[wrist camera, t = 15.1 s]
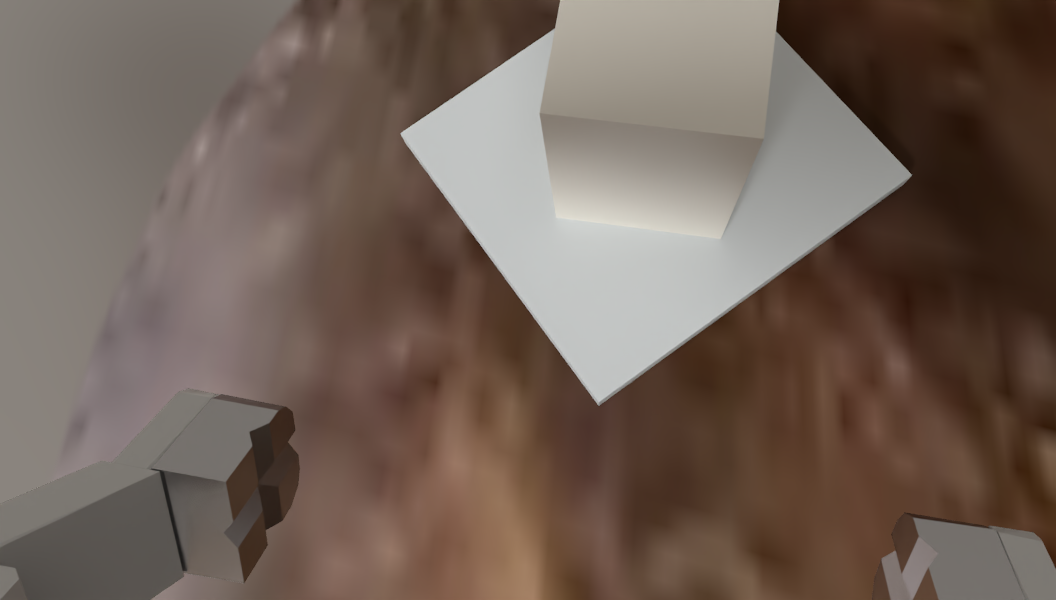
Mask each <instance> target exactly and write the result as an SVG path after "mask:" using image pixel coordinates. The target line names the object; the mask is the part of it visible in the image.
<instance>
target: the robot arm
mask: <svg viewBox="0 0 1056 600" xmlns="http://www.w3.org/2000/svg"><path fill="white" fill-rule="evenodd" d="M294 432H295V424H294V418H293V412H292V411H291V410H290V409H288V408H287V407H284V406H279V405H274V404H269V403H264V402H259V401H254V400H249V399H244V398H239V397H233V396H228V395H223V394H221V395H219V394H214V393H209V392H204V391H199V390H194V389H189V388H188V389H185V390H183V391H180V392H178V393H177V394H176V395H175V396H174V397H173V398H172V399H171V400H170V401H169V402H168V403H167V404H166V405H165V406H164V408H163V409H162V410H161V411H160V412H159V413H158V414H157V415H156V416H155V417H154V418H153V419H152V420H151V421H150V422H149V423H148V424H147V426H146V427H145V428H144V429H143V430H142V431H141V432H140V433H139V434H138V435H137V436H136V437H135V438H134V439H133V440H132V441H131V443H130V444H129V445H128V446H127V447H126V448H125V449H124V450H123V451H122V452H121V453H120V454H119V455H118V456H117V457H116V458H115V459H114V461H113V462H106V461H100V462H97V463H95V464H93V465H90V466H88V467H85V468H83V469H81V470H78V471H76V472H74V473H71V474H69V475H67V476H64V477H62V478H59V479H57V480H55V481H52V482H50V483H48V484H45V485H43V486H41V487H38V488H36V489H34V490H31V491H29V492H26V493H24V494H22V495H19V496H17V497H15V498H13V499H10V500H8V501H5V502H3V503H1V504H0V600H150V599H152V598H153V597H155V596H156V595H158V594H159V593H161V592H162V591H164V590H165V589H166V588H168V587H169V586H171V585H172V584H174V583H175V582H177V581H178V580H180V579H181V578H182V577H184V573H187V574H193V575H199V576H205V577H211V578H216V579H222V580H228V581H234V582H240V583H245V581H246V580H247V578H248V576H249V575H250V573H251V571H252V570H253V568H254V567H255V565H256V563H257V562H258V560H259V558H260V557H261V555H262V554H263V552H264V550H265V549H266V547H267V545H268V544H267V537H266V530H267V529H269V528H270V527H272V526H274V525H276V524H277V523H279V522H281V521H283V519H284V517H285V516H286V514H287V512H288V510H289V509H290V507H291V505H292V502H293V499H294V496H295V493H296V490H297V487H298V481H299V470H300V467H299V457H298V454H297V453H296V451H295V450H294V449H293V448H292V447H291V445H290V444H289V443H288V441H289V439H290V438H291V436H292V435H293V433H294ZM891 535H892V539H893V542H894V546H895V550H896V551H894V552H892V553H891V554H889V555H887V556H886V557H884V558H882V559H881V561H880V564H879V566H878V569H877V572H876V575H875V578H874V585H873V593H872V600H1056V569H1055V567H1054V565H1053V563H1052V561H1051V559H1050V556H1049V554H1048V552H1047V550H1046V548H1045V546H1044V544H1043V542H1042V540H1041V539H1040V538H1039V537H1038V536H1037V535H1035V534H1034V533H1033V532H1027V531H1021V530H1014V529H1008V528H1001V527H995V526H988V527H987V526H984V525H978V524H972V523H966V522H960V521H954V520H947V519H941V518H935V517H929V516H923V515H917V514H911V513H905V512H904V514H903V515H902V516H901V517H900V518H899V519H898V520H897V522H896V525H895V527H894V529H893V532H892V534H891Z"/></svg>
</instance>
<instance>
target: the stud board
mask: <svg viewBox="0 0 1056 600" xmlns="http://www.w3.org/2000/svg"><path fill="white" fill-rule="evenodd" d="M554 32H555V29H554V30H552V31H551V32H549V33H548V34H546V35H545V36H543V37H542V38H540V39H539V40H537V41H536V42H534V43H533V44H531V45H530V46H529V47H527V48H526V49H524V50H523V51H521V52H520V53H518V54H517V55H515V56H514V57H512V58H511V59H509V60H508V61H506V62H505V63H503V64H502V65H500V66H499V67H498V68H496V69H495V70H493V71H492V72H490V73H489V74H487V75H486V76H484V77H483V78H481V79H480V80H478V81H477V82H475V83H474V84H472V85H471V86H470V87H468V88H467V89H465V90H464V91H462V92H461V93H459V94H458V95H456V96H455V97H453V98H452V99H450V100H449V101H447V102H446V103H444V104H443V105H442V106H440V107H439V108H437V109H436V110H434V111H433V112H431V113H430V114H428V115H427V116H425V117H424V118H422V119H421V120H419V121H418V122H416V123H415V124H413V125H412V126H411V127H409V128H408V129H406V130H405V131H403V132H402V133H400V134H401V136H402V138H403V139H404V141H405V143H406V145H407V146H408V147H409V149H410V150H411V151H412V153H413V154H414V155H415V157H416V158H417V159H418V161H419V162H420V164H421V165H422V166H423V168H424V169H425V170H426V172H427V173H428V174H429V176H430V177H431V179H432V180H433V181H434V183H435V184H436V185H437V187H438V188H439V189H440V191H441V192H442V193H443V195H444V196H445V198H446V199H447V200H448V202H449V203H450V204H451V206H452V207H453V208H454V210H455V211H456V212H457V214H458V215H459V217H460V218H461V219H462V221H463V222H464V223H465V225H466V226H467V227H468V229H469V230H470V232H471V233H472V234H473V236H474V237H475V238H476V240H477V241H478V242H479V244H480V245H481V246H482V248H483V249H484V251H485V252H486V253H487V255H488V256H489V257H490V259H491V260H492V261H493V263H494V264H495V265H496V267H497V268H498V270H499V271H500V272H501V274H502V275H503V276H504V278H505V279H506V280H507V282H508V283H509V285H510V286H511V287H512V289H513V290H514V291H515V293H516V294H517V295H518V297H519V298H520V299H521V301H522V302H523V304H524V305H525V306H526V308H527V309H528V310H529V312H530V313H531V314H532V316H533V317H534V319H535V320H536V321H537V323H538V324H539V325H540V327H541V328H542V329H543V331H544V332H545V333H546V335H547V336H548V338H549V339H550V340H551V342H552V343H553V344H554V346H555V347H556V348H557V350H558V351H559V352H560V354H561V355H562V357H563V358H564V359H565V361H566V362H567V363H568V365H569V366H570V367H571V369H572V370H573V372H574V373H575V374H576V376H577V377H578V378H579V380H580V381H581V382H582V384H583V385H584V386H585V388H586V389H587V391H588V392H589V393H590V395H591V396H592V397H593V399H594V400H595V401H596V403H597V404H598V405H600V404H602V403H603V402H605V401H606V400H607V399H609V398H610V397H611V396H613V395H614V394H616V393H617V392H618V391H620V390H621V389H623V388H624V387H625V386H627V385H628V384H629V383H631V382H632V381H634V380H635V379H636V378H638V377H639V376H640V375H642V374H643V373H645V372H646V371H647V370H649V369H650V368H651V367H653V366H654V365H656V364H657V363H658V362H660V361H661V360H662V359H664V358H665V357H667V356H668V355H669V354H671V353H672V352H673V351H675V350H676V349H678V348H679V347H680V346H682V345H683V344H685V343H686V342H687V341H689V340H690V339H691V338H693V337H694V336H696V335H697V334H698V333H700V332H701V331H702V330H704V329H705V328H707V327H708V326H709V325H711V324H712V323H713V322H715V321H716V320H718V319H719V318H720V317H722V316H723V315H724V314H726V313H727V312H729V311H730V310H731V309H733V308H734V307H735V306H737V305H738V304H740V303H741V302H742V301H744V300H745V299H747V298H748V297H749V296H751V295H752V294H753V293H755V292H756V291H758V290H759V289H760V288H762V287H763V286H764V285H766V284H767V283H769V282H770V281H771V280H773V279H774V278H775V277H777V276H778V275H780V274H781V273H782V272H784V271H785V270H786V269H788V268H789V267H791V266H792V265H793V264H795V263H796V262H797V261H799V260H800V259H802V258H803V257H804V256H806V255H807V254H809V253H810V252H811V251H813V250H814V249H815V248H817V247H818V246H820V245H821V244H822V243H824V242H825V241H826V240H828V239H829V238H831V237H832V236H833V235H835V234H836V233H837V232H839V231H840V230H842V229H843V228H844V227H846V226H847V225H848V224H850V223H851V222H853V221H854V220H855V219H857V218H858V217H859V216H861V215H862V214H864V213H865V212H866V211H868V210H869V209H871V208H872V207H873V206H875V205H876V204H877V203H879V202H880V201H882V200H883V199H884V198H886V197H887V196H888V195H890V194H891V193H893V192H894V191H895V190H897V189H898V188H899V187H901V186H902V185H904V183H905V182H906V181H907V180H908V179H909V178H910V177H911V176H912V174H911V173H910V172H909V171H908V170H907V169H906V168H905V167H904V166H903V165H902V164H901V163H900V162H899V161H898V160H897V159H896V158H895V157H894V155H893V154H892V153H891V152H890V151H889V150H888V149H887V148H886V147H885V146H884V145H883V144H882V143H881V142H880V141H879V140H878V139H877V138H876V136H875V135H874V134H873V133H872V132H871V131H870V130H869V129H868V128H867V127H866V126H865V125H864V124H863V123H862V122H861V121H860V120H859V119H858V117H857V116H856V115H855V114H854V113H853V112H852V111H851V110H850V109H849V108H848V107H847V106H846V105H845V104H844V103H843V102H842V101H841V100H840V98H839V97H838V96H837V95H836V94H835V93H834V92H833V91H832V90H831V89H830V88H829V87H828V86H827V85H826V84H825V83H824V82H823V81H822V79H821V78H820V77H819V76H818V75H817V74H816V73H815V72H814V71H813V70H812V69H811V68H810V67H809V66H808V65H807V64H806V63H805V62H804V60H803V59H802V58H801V57H800V56H799V55H798V54H797V53H796V52H795V51H794V50H793V49H792V48H791V47H790V46H789V45H788V44H787V43H786V41H785V40H784V39H783V38H782V37H781V36H780V35H779V34H778V33H777V32H776V34H775V43H774V52H773V61H772V70H771V79H770V88H769V97H768V106H767V115H766V124H765V133H764V140H763V142H762V144H761V147H760V149H759V151H758V154H757V156H756V158H755V161H754V163H753V165H752V168H751V170H750V172H749V175H748V177H747V179H746V182H745V184H744V186H743V189H742V191H741V193H740V196H739V198H738V200H737V203H736V205H735V207H734V210H733V212H732V214H731V217H730V219H729V221H728V224H727V226H726V228H725V231H724V233H723V235H722V238H721V239H716V238H709V237H701V236H694V235H686V234H678V233H671V232H663V231H655V230H648V229H640V228H633V227H625V226H617V225H610V224H602V223H594V222H587V221H579V220H571V219H564V218H556V214H555V208H554V201H553V195H552V189H551V183H550V176H549V170H548V164H547V158H546V151H545V145H544V139H543V133H542V126H541V120H540V114H539V113H540V107H541V102H542V97H543V91H544V86H545V80H546V75H547V70H548V64H549V59H550V53H551V48H552V43H553V37H554Z"/></svg>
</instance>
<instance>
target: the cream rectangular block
mask: <svg viewBox="0 0 1056 600" xmlns="http://www.w3.org/2000/svg"><path fill="white" fill-rule="evenodd" d="M778 7H779V0H560V5H559V10H558V15H557V21H556V26H555V32H554V37H553V43H552V48H551V53H550V59H549V64H548V70H547V75H546V80H545V86H544V91H543V97H542V102H541V107H540V113H539V114H540V120H541V126H542V133H543V139H544V145H545V151H546V158H547V164H548V170H549V176H550V183H551V189H552V195H553V201H554V208H555V214H556V218H564V219H571V220H579V221H587V222H594V223H602V224H610V225H617V226H625V227H633V228H640V229H648V230H655V231H663V232H671V233H678V234H686V235H694V236H701V237H709V238H716V239H721V238H722V235H723V233H724V231H725V228H726V226H727V224H728V221H729V219H730V217H731V214H732V212H733V210H734V207H735V205H736V203H737V200H738V198H739V196H740V193H741V191H742V189H743V186H744V184H745V182H746V179H747V177H748V175H749V172H750V170H751V168H752V165H753V163H754V161H755V158H756V156H757V154H758V151H759V149H760V147H761V144H762V142H763V140H764V133H765V124H766V115H767V106H768V97H769V88H770V79H771V70H772V61H773V52H774V43H775V34H776V25H777V16H778Z"/></svg>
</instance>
